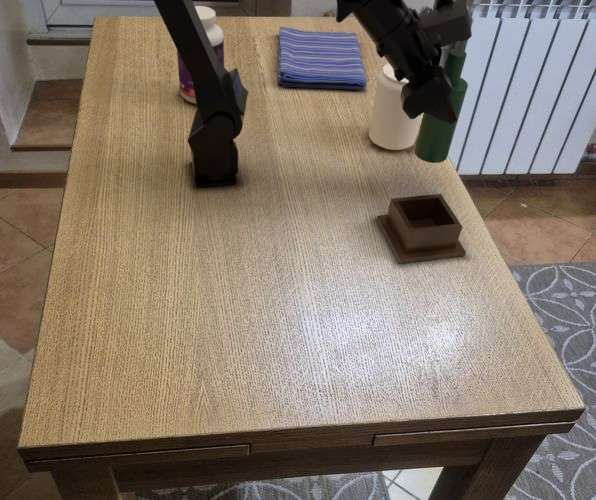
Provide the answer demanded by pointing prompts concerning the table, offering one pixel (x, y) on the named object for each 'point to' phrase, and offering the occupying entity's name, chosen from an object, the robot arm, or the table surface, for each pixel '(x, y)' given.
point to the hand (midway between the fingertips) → (451, 112)
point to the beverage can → (391, 114)
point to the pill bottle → (217, 43)
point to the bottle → (435, 131)
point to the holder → (421, 229)
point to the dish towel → (319, 60)
